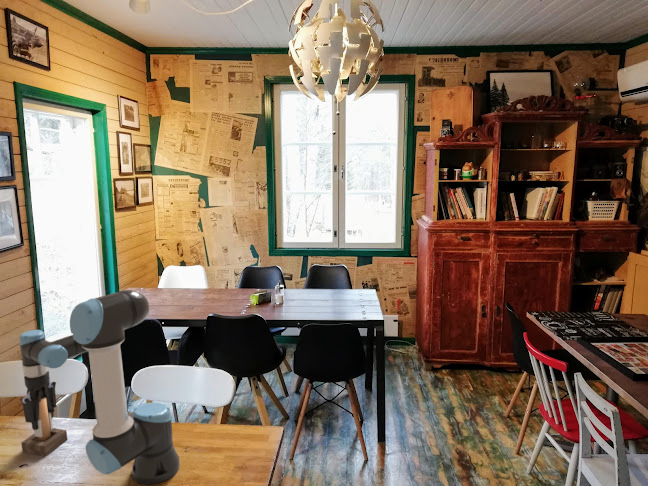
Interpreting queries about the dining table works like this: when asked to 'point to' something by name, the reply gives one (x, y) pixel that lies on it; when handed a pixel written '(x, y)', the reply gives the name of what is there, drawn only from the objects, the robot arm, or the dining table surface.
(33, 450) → the socket block
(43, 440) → the peg
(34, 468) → the dining table surface
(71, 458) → the dining table surface
